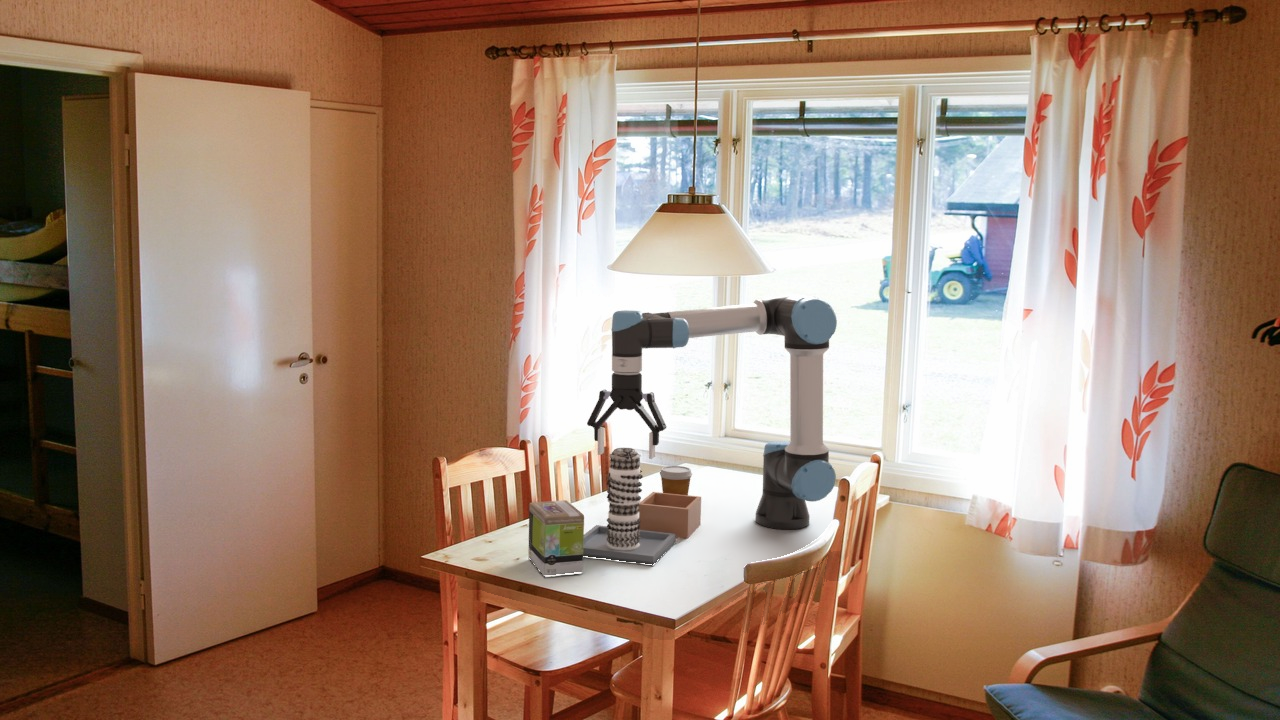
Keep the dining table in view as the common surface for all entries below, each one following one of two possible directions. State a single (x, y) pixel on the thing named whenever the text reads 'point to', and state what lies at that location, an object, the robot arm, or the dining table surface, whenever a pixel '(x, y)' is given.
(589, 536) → the slate tray
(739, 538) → the dining table surface
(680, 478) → the disposable coffee cup
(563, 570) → the tea box
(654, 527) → the terracotta holder
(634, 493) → the decorative candle
